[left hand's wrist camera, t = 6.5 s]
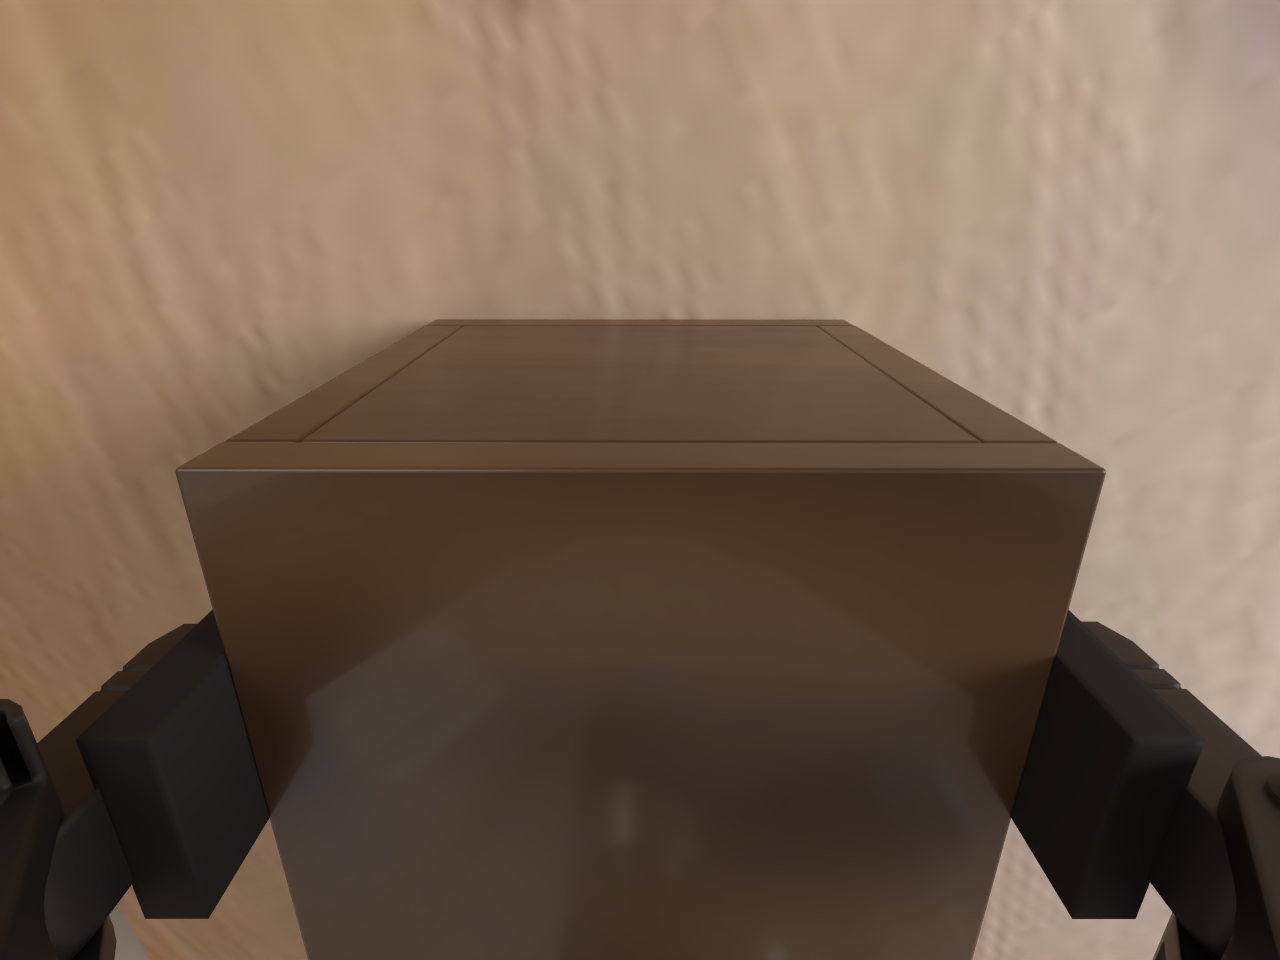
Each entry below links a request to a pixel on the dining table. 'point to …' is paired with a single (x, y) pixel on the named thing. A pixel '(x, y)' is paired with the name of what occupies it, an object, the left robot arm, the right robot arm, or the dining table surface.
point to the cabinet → (640, 640)
